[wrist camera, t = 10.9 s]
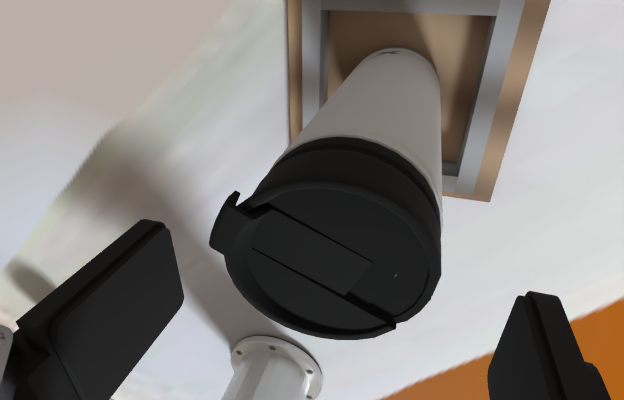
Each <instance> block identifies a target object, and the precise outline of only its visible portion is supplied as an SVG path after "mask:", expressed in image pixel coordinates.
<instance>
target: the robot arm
mask: <svg viewBox="0 0 624 400" xmlns="http://www.w3.org/2000/svg"><path fill="white" fill-rule="evenodd" d="M183 300H184V294H183V289H182V285H181V280H180V275H179V271H178V266H177V262H176V257H175V253H174V248H173V244H172V239H171V235H170V231H169V230H168V229H167V228H166V226H165V225H164V223H162V222H157V221H152V220H147V219H143V220H140V221H139V222H137V223H136V224H135V225H134V226H133V227H131V228H130V229H129V230H128V231H126V232H125V233H124V234H123V235H122V236H120V237H119V238H118V239H117V240H115V241H114V242H113V243H112V244H110V245H109V246H108V247H107V248H106V249H104V250H103V251H102V252H101V253H99V254H98V255H97V256H96V257H95V258H93V259H92V260H91V261H90V262H88V263H87V264H86V265H85V266H83V267H82V268H81V269H80V270H79V271H77V272H76V273H75V274H74V275H72V276H71V277H70V278H69V279H67V280H66V281H65V282H64V283H63V284H61V285H60V286H59V287H58V288H56V289H55V290H54V291H53V292H52V293H50V294H49V295H48V296H47V297H45V298H44V299H43V300H42V301H40V302H39V303H38V304H37V305H36V306H34V307H33V308H32V309H31V310H29V311H28V312H27V313H26V314H24V315H23V316H22V317H21V318H20V319H18V320H17V321H16V323H17V325H18V327H19V329H18V330H17V331H16V332H14V333H13V332H12V331H11V330H10V328H8V327H5V326H3V325H0V400H109V399H110V398H111V396H112V395H113V394H114V393H115V391H116V390H117V389H118V387H119V386H120V385H121V384H122V382H123V381H124V380H125V378H126V377H127V376H128V375H129V373H130V372H131V371H132V369H133V368H134V367H135V365H136V364H137V363H138V362H139V360H140V359H141V358H142V356H143V355H144V354H145V353H146V351H147V350H148V349H149V347H150V346H151V345H152V344H153V342H154V341H155V340H156V338H157V337H158V336H159V335H160V333H161V332H162V331H163V329H164V328H165V327H166V326H167V324H168V323H169V322H170V320H171V319H172V318H173V317H174V315H175V314H176V313H177V311H178V310H179V309H180V307H181V306H182V303H183ZM231 365H232V368H233V370H234V372H235V374H234V376H233V378H232V380H231V382H230V384H229V385H228V387H227V389H226V391H225V393H224V395H223V397H222V399H221V400H315V399H316V398H317V397H318V396H319V394H320V392H321V388H322V385H323V378H322V374H321V371H320V369H319V367H318V366H317V364H316V363H315V362H314V361H313V359H312V358H311V357H309V356H308V355H307V354H306V353H305V352H304V351H302V350H301V349H299V348H298V347H296V346H294V345H292V344H291V343H288V342H286V341H284V340H281V339H277V338H274V337H268V336H252V337H247V338H245V339H242V340H241V341H240V342H238V343H237V345H236V346H235V348H234V350H233V352H232V354H231ZM488 389H489V396H490V400H611V398H610V396H609V394H608V391H607V389H606V387H605V384H604V382H603V379H602V377H601V375H600V373H599V371H598V369H597V368H596V367H595V366H594V365H593V364H592V363H588V362H584V359H583V357H582V354H581V352H580V349H579V347H578V344H577V342H576V339H575V336H574V334H573V331H572V329H571V326H570V324H569V321H568V319H567V316H566V314H565V311H564V309H563V306H562V304H561V301H560V299H559V298H558V297H557V296H554V295H549V294H543V293H538V292H533V291H529V292H527V294H526V295H525V296H518V297H517V298H516V300H515V303H514V305H513V308H512V310H511V313H510V315H509V318H508V320H507V323H506V325H505V328H504V330H503V333H502V335H501V338H500V340H499V343H498V345H497V348H496V350H495V353H494V356H493V358H492V361H491V363H490V365H489V369H488Z"/></svg>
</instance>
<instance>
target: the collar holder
mask: <svg viewBox="0 0 624 400" xmlns="http://www.w3.org/2000/svg"><path fill="white" fill-rule="evenodd" d="M550 1H551V0H288V37H289V81H290V125H291V143H292V142H293V141H294V139H295V138H296V137H297V136H298V135H299V134H300V132H301V131H302V130H303V129H304V128H305V127H306V125H307V124H308V123H309V122H310V121H311V120H312V118H313V117H314V116H315V115H316V114H317V113H318V111H319V110H320V109H321V108H322V107H323V105H324V104H325V103H326V102H327V101H328V100H329V98H330V97H331V96H332V95H333V94H334V93H335V91H336V90H337V89H338V88H339V87H340V86H341V84H342V83H343V82H344V81H345V80H346V79H347V77H348V76H349V75H350V74H351V73H352V71H353V70H354V69H355V68H356V67H357V66H358V64H359V63H360V62H361V61H362V60H363V59H364V58H365V57H366V56H368V55H369V54H371V53H372V52H374V51H375V50H378V49H380V48H383V47H387V46H405V47H410V48H413V49H415V50H417V51H419V52H421V53H422V54H423V55H424V56H426V57H427V58H428V59H429V60H430V62H431V63H432V64H433V66H434V67H435V69H436V71H437V74H438V77H439V81H440V107H441V162H442V196H448V197H455V198H462V199H469V200H476V201H483V202H490V199H491V196H492V193H493V189H494V186H495V183H496V179H497V176H498V173H499V170H500V166H501V163H502V160H503V156H504V153H505V150H506V146H507V143H508V140H509V137H510V133H511V130H512V127H513V123H514V120H515V117H516V113H517V110H518V107H519V104H520V100H521V97H522V94H523V90H524V87H525V84H526V80H527V77H528V74H529V71H530V67H531V64H532V61H533V57H534V54H535V51H536V47H537V44H538V41H539V38H540V34H541V31H542V28H543V24H544V21H545V18H546V14H547V11H548V8H549V5H550Z"/></svg>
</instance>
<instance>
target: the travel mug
mask: <svg viewBox="0 0 624 400" xmlns="http://www.w3.org/2000/svg"><path fill="white" fill-rule="evenodd" d="M239 196H240V193H239V192H237V191H234V192H233V193H232V194H231V195H230V196H229V197H228V198H227V200H226V201H225V203H224V204H223V206H222V208H221V210H220V212H219V214H218V216H217V218H216V221H215V223H214V226H213V229H212V231H211V235H210V241H209V245H210V247H211V248H213V249H214V250H216V251H218V252H220V253H221V254H223V255H224V258H225V262H226V267H227V271H228V273H229V275H230V277H231V279H232V281H233V283H234V285H235V286H236V287H237V289H238V290H239V291H240V293H241V294H242V295H243V297H244V298H245V299H246V300H247V301H248V302H249V303H251V304H252V305H253V306H254V307H255V308H256V309H257V310H258V311H260V312H261V313H263V314H264V315H266V316H267V317H268V318H270V319H272V320H273V321H275V322H277V323H279V324H281V325H283V326H285V327H287V328H290V329H292V330H295V331H298V332H300V333H303V334H307V335H311V336H315V337H319V338H327V339H335V340H360V339H368V338H375V337H377V336H379V335H382V334H384V333H387V332H389V331H392V330H394V329H396V323H400V322H404V321H407V320H409V319H410V318H412V317H413V316H414V315H416V314H417V313H418V312H420V311H421V310H422V309H423V308H424V306H425V305H426V304H427V303H428V302H429V301H430V300H431V296H432V295H433V293H434V291H435V288H436V286H437V284H438V281H439V279H440V277H441V239H440V238H441V232H442V226H443V219H442V162H441V107H440V81H439V77H438V74H437V71H436V69H435V67H434V66H433V64H432V63H431V62H430V60H429V59H428V58H427V57H426V56H424V55H423V54H422V53H421V52H419V51H417V50H415V49H413V48H410V47H405V46H387V47H383V48H380V49H378V50H375V51H374V52H372V53H371V54H369V55H368V56H366V57H365V58H364V59H363V60H362V61H361V62H360V63H359V64H358V66H357V67H356V68H355V69H354V70H353V71H352V73H351V74H350V75H349V76H348V77H347V79H346V80H345V81H344V82H343V83H342V84H341V86H340V87H339V88H338V89H337V90H336V91H335V93H334V94H333V95H332V96H331V97H330V98H329V100H328V101H327V102H326V103H325V104H324V105H323V107H322V108H321V109H320V110H319V111H318V113H317V114H316V115H315V116H314V117H313V118H312V120H311V121H310V122H309V123H308V124H307V125H306V127H305V128H304V129H303V130H302V131H301V132H300V134H299V135H298V136H297V137H296V138H295V139H294V141H293V142H292V143H291V144H290V145H289V146H288V148H287V149H286V150H285V151H284V153H283V154H282V155H281V156H280V157H279V158H278V159H277V161H276V162H275V163H274V165H273V166H272V168H271V170H270V171H269V173H268V174H267V176H265V177H264V179H263V180H262V181H261V182H260V184H259V185H258V187H257V189H256V190H255V192H254V193H253V194H252V196H251V197H249V198H248V199H246V200H245V201H243V202H242V203H241V204H239V205H238V206H236V203H237V201H238V198H239Z"/></svg>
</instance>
